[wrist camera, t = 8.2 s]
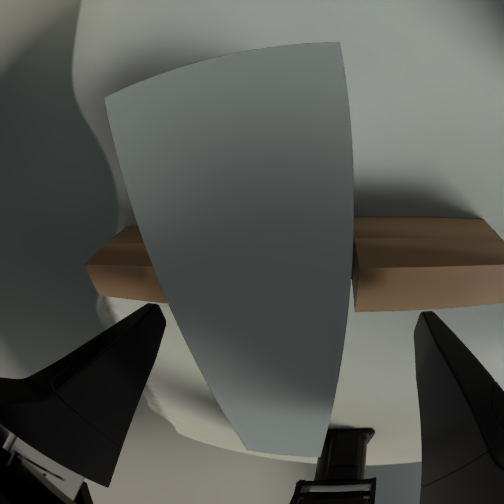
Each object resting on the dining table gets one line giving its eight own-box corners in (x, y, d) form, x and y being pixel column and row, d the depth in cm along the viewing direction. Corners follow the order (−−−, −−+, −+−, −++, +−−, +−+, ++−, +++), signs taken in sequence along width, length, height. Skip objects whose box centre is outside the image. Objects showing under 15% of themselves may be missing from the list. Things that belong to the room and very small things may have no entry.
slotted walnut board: (475, 253, 11) (506, 301, 7) (136, 255, 16) (99, 295, 13) (483, 219, 10) (522, 263, 6) (125, 227, 15) (84, 264, 12)
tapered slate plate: (331, 335, 16) (320, 457, 9) (276, 333, 17) (246, 449, 10) (323, 82, 9) (340, 41, 2) (238, 91, 10) (103, 98, 3)
